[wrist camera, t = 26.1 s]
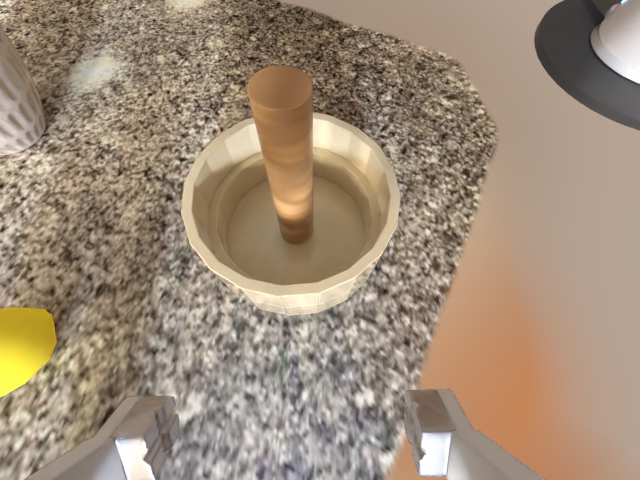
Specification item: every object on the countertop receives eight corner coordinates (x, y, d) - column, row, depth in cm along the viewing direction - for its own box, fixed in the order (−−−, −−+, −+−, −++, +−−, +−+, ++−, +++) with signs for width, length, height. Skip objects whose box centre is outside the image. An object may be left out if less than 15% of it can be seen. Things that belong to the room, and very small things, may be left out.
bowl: (364, 163, 29) (378, 105, 23) (393, 307, 24) (422, 283, 17) (218, 173, 28) (190, 115, 22) (210, 325, 23) (170, 307, 16)
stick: (311, 214, 26) (309, 62, 13) (314, 243, 25) (315, 108, 12) (280, 217, 26) (246, 65, 13) (281, 246, 25) (246, 111, 12)
